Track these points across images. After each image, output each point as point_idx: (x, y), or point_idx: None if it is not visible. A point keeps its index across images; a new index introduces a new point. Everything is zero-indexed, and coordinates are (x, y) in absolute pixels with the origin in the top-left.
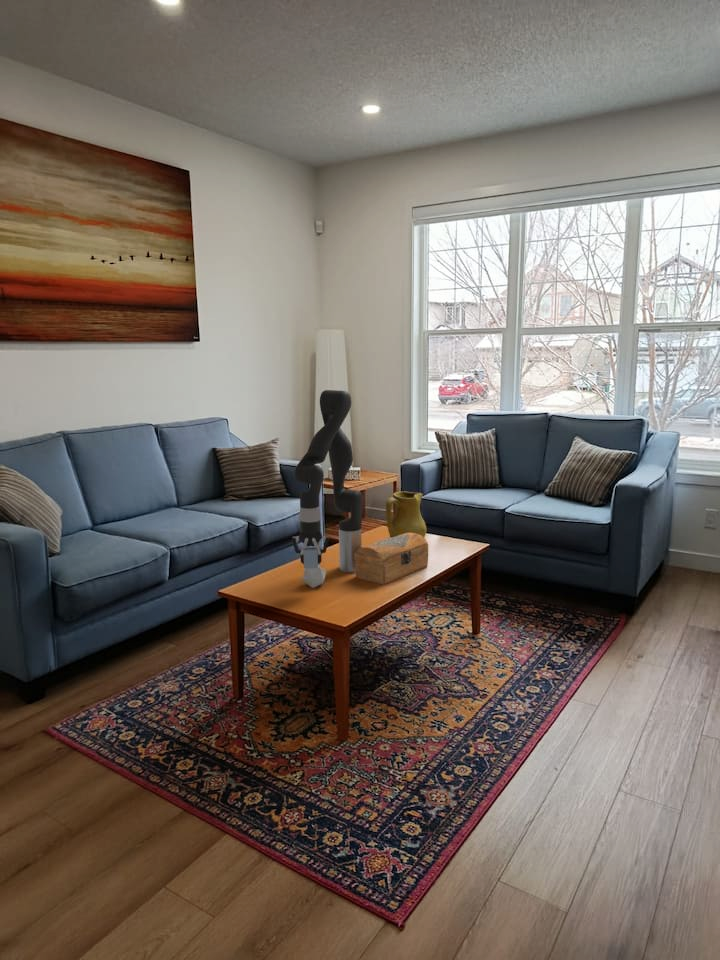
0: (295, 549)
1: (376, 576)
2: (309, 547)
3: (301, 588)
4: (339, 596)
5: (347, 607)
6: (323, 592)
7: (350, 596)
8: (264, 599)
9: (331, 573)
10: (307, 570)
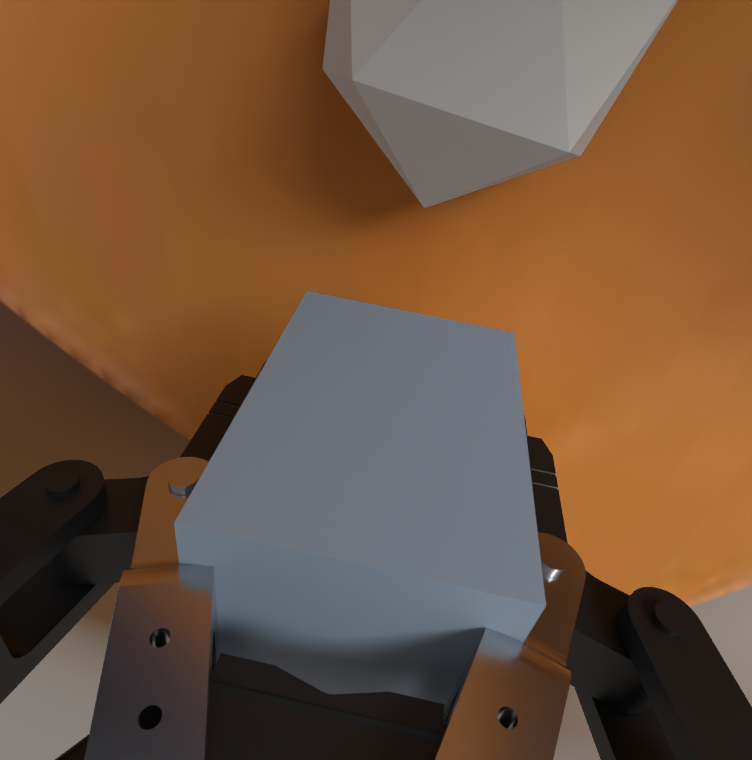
0: (31, 606)
1: None
2: (307, 632)
3: (334, 87)
4: (629, 368)
5: (602, 534)
6: (527, 252)
7: (716, 388)
8: (70, 296)
9: None
10: (371, 117)
